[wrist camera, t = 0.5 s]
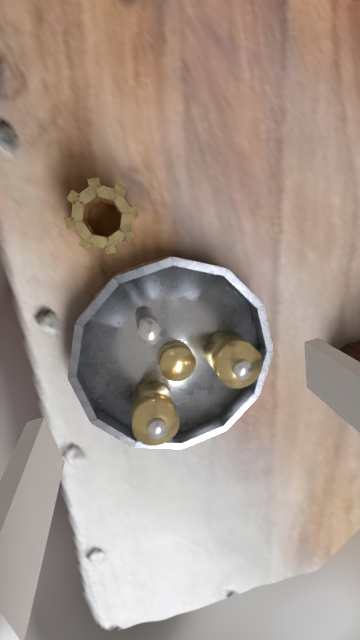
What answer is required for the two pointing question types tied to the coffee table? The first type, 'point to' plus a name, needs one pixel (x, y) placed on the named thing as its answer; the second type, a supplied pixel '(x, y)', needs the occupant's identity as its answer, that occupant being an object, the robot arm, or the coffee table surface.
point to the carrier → (169, 353)
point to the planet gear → (90, 199)
